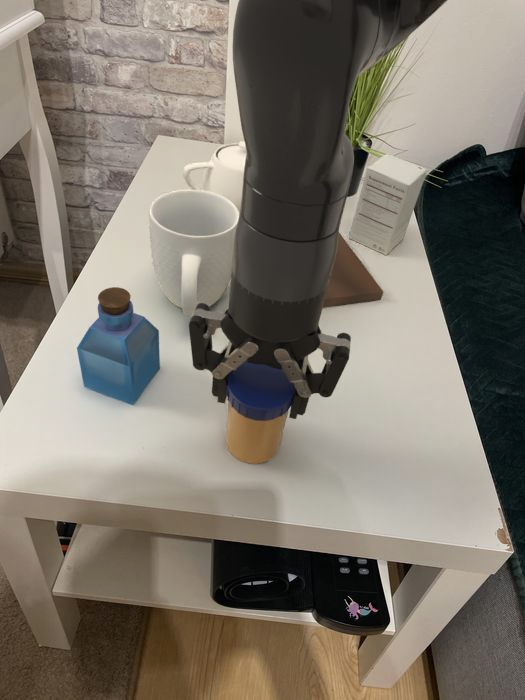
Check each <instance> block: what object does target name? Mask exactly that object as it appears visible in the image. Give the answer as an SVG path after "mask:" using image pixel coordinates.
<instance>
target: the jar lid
mask: <svg viewBox="0 0 525 700" xmlns="http://www.w3.org/2000/svg"><path fill="white" fill-rule="evenodd" d="M295 390H296V388H295V386H294V384H293V383H290V382H289V380H288V378H287V376H286V374H285V372H284V370H283V368H282V370H280V369H275V368H272V367H269V366H267V365H264V364H252V363H247V360H246V361H245V362H244V363H242V364H241V365H240V366H239V367H238V368H237V369H236V370H235V371H234V370H232V371H231V372H230V373H229V374H228V378H227V384H226V393H227V398H226V400H227V402H228V401H229V402H230V404H231V407H233V408H234V409H235V410H236V411H237V412H238V413H239V414H241V415H243V416H245V417H246V418H250V419H253V420H260V421H265V420H272V419H273V420H274V419H275V418H278V417H280V416H282V415H283V414H284V413H286V412H287V411H288V412H289V411H290V409H291V405H292V403H293V399H294V394H295Z"/></svg>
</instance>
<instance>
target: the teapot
mask: <svg viewBox="0 0 525 700" xmlns="http://www.w3.org/2000/svg"><path fill="white" fill-rule="evenodd" d="M245 159H246V146H245V141H244V140H240V141H239V142H237V143H236V142H233V143H227V144H223V145H221V146H219V147H218V148H216V149H215V151H214V152H213V153H212V155H211V157H210V159H209V161H200V162H199V161H198V162H192V163H188V164H186V165H185V166H184V167H183V168H182V177H183V180H184V182H185V183H186V184H187V186H188V187H189V188H190V189H193V190H204V191H209V192H213V193H216V194H219V195H221V196H223V197H225V198H227V199H228V200H230V201H231V202H232V203H233V204H234V205H235V206H236V207H237V209H238V211H239V215H240V209H241V197H242V186H243V175H244V166H245ZM196 170H204V171H203V174H202V180H201V187H200V186H198V185H197V184H196V183H195V182H194V181H193V180H192V178H191V174H190V173H191V172H192V171H196Z"/></svg>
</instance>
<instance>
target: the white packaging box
mask: <svg viewBox="0 0 525 700" xmlns="http://www.w3.org/2000/svg"><path fill="white" fill-rule="evenodd" d="M427 173H428V169H427V168H425V167H423V166H421V165H418V164H416V163H412V162H410V161H407V160H405V159H402V158H399V157H397V156H394V155H392V154H389V153H385V154H384V155H383V156H381V157H380V158H378V159H377V160H376V161H375V162H373V163H372V164H370V165H369V166H368V167H366V171H365V176H364V179H363V183H362V186H361V190H360V193H359V198H358V200H357V205H356V209H355V212H354V216H353V219H352V224H351V227H350V231H349V236H348V238H349V239H350V240H352V241H354V242H356V243H359V244H360V245H363V246H365V247H367V248H369V249H371V250H373V251H376V252H378V253H380V254H383V255H385V256H387V255H388V254H390V252H391V251H393V249H394V248H396V246H397V245H398V244H400V242H401V241H402V240H403V239H404V238H405V235H406V233H407V230H408V227H409V225H410V221H411V218H412V215H413V213H414V210H415V207H416V205H417V201H418V198H419V195H420V193H421V189H422V188H423V187H422V186H423V184H424V181H425V179H426V175H427Z"/></svg>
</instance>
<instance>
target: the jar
mask: <svg viewBox="0 0 525 700" xmlns="http://www.w3.org/2000/svg"><path fill="white" fill-rule="evenodd" d="M226 412H227V413H226V423H225V424H226V426H225V436H224V437H225V438H224V440H225V445H226V447H227V450H228V451H229V453H230V454H231V455H232V456H233V457H234V458H235V459H237V460H239V461H241V462H242V463H246V464H250V465H251V464H253V465H256V464H264V463H266V462H268V461H270V460H271V459H273V458H274V457H276V455H277V454H278V452H279V450H280V448H281V445H282V440H283V435H284V432H285V427H286V423H287V418H288V415H289V410H288V411H287V412H286V413H284V414H283V415H282V416H280V417H278V418H275V419H274V420H273V419H272V420H265V421H260V420H253V419H250V418H246V417H245V416H243V415H241V414H239V413H238V412H237V411H236V410H235V409H234V408H233V407H231V404H230V402H229V401H228V400H227V411H226Z"/></svg>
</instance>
